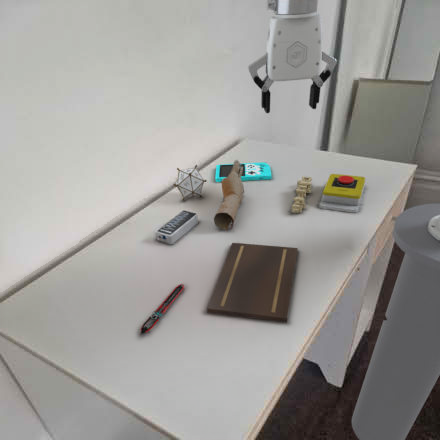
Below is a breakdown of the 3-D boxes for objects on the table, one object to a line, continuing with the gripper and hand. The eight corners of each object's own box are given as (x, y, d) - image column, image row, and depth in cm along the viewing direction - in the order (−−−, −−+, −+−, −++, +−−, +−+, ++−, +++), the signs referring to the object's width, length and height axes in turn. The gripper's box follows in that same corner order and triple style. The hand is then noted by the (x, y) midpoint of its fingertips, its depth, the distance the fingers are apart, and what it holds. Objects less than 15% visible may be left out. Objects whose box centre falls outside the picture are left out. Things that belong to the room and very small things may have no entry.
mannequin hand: (209, 236, 89) (235, 182, 105) (237, 232, 85) (259, 177, 102) (198, 210, 84) (226, 158, 100) (227, 206, 81) (252, 152, 97)
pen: (187, 286, 71) (187, 283, 71) (146, 336, 62) (145, 333, 61) (178, 284, 72) (178, 281, 71) (137, 333, 63) (136, 330, 62)
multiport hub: (199, 222, 89) (198, 213, 88) (171, 244, 83) (170, 236, 81) (184, 218, 91) (183, 209, 90) (156, 240, 85) (154, 231, 83)
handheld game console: (271, 179, 105) (271, 175, 104) (215, 182, 106) (214, 178, 105) (268, 165, 112) (269, 161, 111) (216, 168, 113) (216, 163, 112)
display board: (297, 251, 78) (297, 247, 77) (286, 322, 62) (287, 318, 62) (232, 246, 81) (232, 242, 80) (207, 312, 66) (206, 308, 65)
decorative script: (298, 184, 101) (299, 172, 99) (312, 184, 100) (313, 172, 98) (290, 215, 89) (291, 202, 87) (306, 216, 88) (307, 203, 86)
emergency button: (368, 170, 95) (361, 196, 85) (365, 186, 98) (357, 213, 88) (331, 166, 98) (320, 191, 88) (329, 182, 101) (318, 207, 91)
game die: (197, 211, 101) (198, 194, 91) (168, 199, 101) (167, 180, 91) (209, 184, 103) (212, 164, 93) (181, 172, 103) (181, 151, 93)
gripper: (251, 11, 63) (251, 118, 74) (350, 3, 63) (336, 110, 75) (245, 8, 69) (246, 108, 80) (336, 1, 69) (325, 101, 80)
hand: (289, 109), depth 77 cm, fingers open, 9 cm apart
